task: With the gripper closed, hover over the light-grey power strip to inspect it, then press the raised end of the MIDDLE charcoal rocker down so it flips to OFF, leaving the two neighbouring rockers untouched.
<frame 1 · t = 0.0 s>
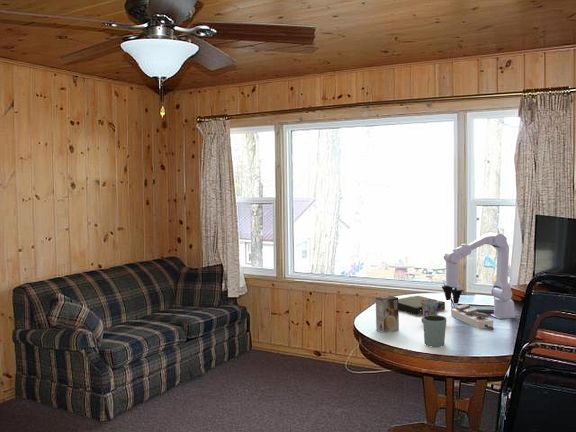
hand: (452, 301, 288), 10 cm above the table, tool pointing down, fingers open, 7 cm apart
grey tapered cup: (434, 344, 252), on the table
rocker 3: (480, 316, 280), point 4 cm above the table, hinge at -12.0°
rocker 1: (463, 308, 295), point 4 cm above the table, hinge at 12.0°
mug: (430, 321, 290), on the table
power strip: (471, 321, 288), on the table
network switch: (417, 310, 316), on the table
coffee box: (387, 330, 276), on the table
rocker 2: (471, 312, 287), point 4 cm above the table, hinge at 12.0°
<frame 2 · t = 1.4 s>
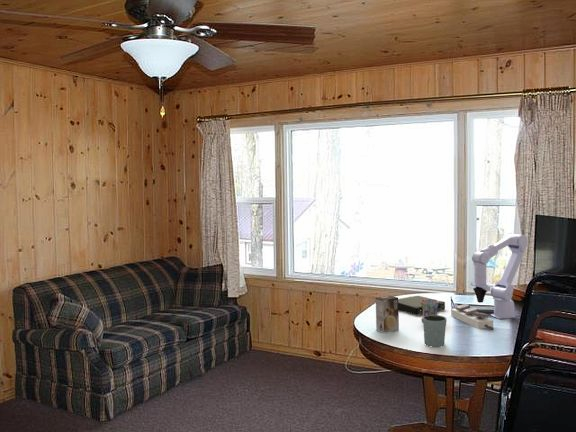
hand: (480, 302, 288), 9 cm above the table, tool pointing down, fingers closed
nothing on the table moved.
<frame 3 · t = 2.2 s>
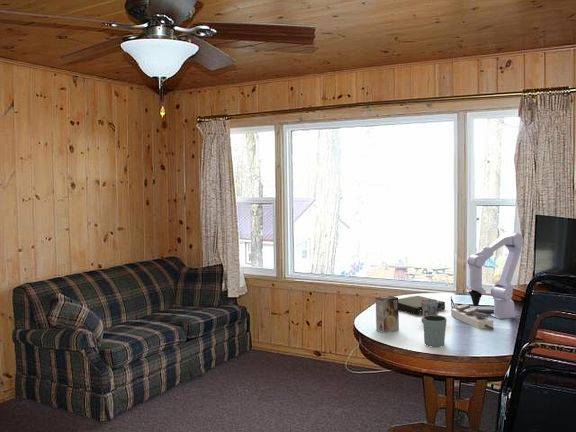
hand: (475, 305, 288), 8 cm above the table, tool pointing down, fingers closed
nothing on the table moved.
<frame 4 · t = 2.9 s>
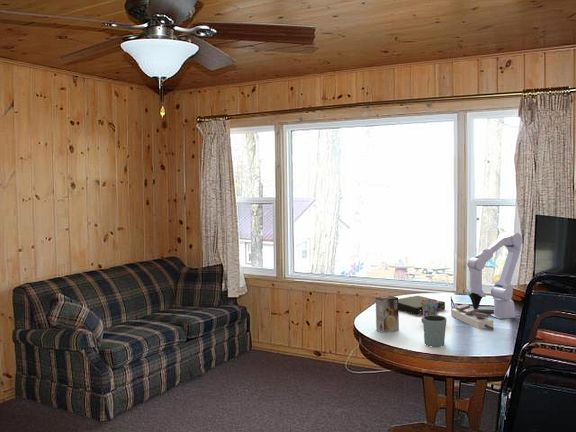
hand: (475, 308, 288), 6 cm above the table, tool pointing down, fingers closed, pressing on rocker 2
rocker 2: (471, 312, 287), point 4 cm above the table, hinge at 12.0°, touching gripper
everything else where it was.
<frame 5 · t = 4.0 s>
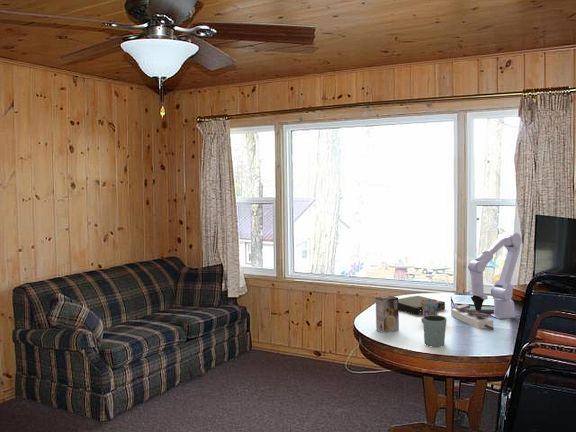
hand: (478, 310, 288), 5 cm above the table, tool pointing down, fingers closed, pressing on rocker 2
rocker 2: (471, 312, 287), point 4 cm above the table, hinge at -9.9°, touching gripper
everything else where it was.
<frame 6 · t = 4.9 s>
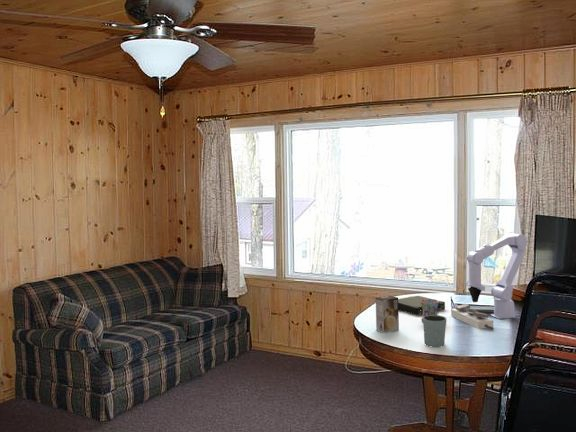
hand: (475, 301, 290), 9 cm above the table, tool pointing down, fingers closed
rocker 2: (471, 312, 287), point 4 cm above the table, hinge at -20.7°
everything else where it was.
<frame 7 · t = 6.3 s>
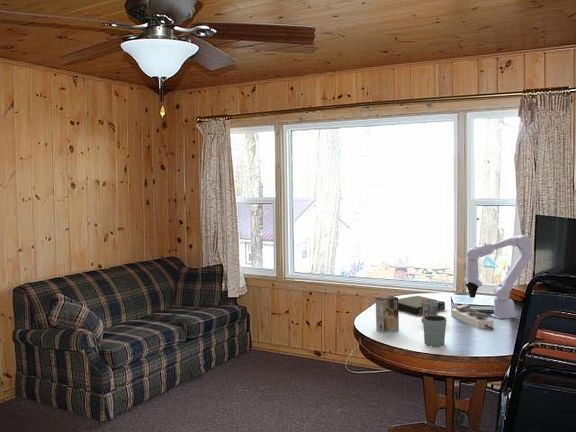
hand: (472, 297, 297), 10 cm above the table, tool pointing down, fingers closed
rocker 2: (471, 312, 287), point 4 cm above the table, hinge at -19.5°
everything else where it was.
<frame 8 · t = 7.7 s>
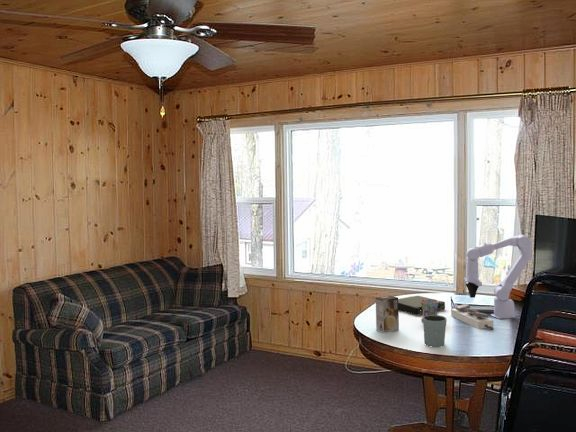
hand: (472, 297, 297), 10 cm above the table, tool pointing down, fingers closed
rocker 2: (471, 312, 287), point 4 cm above the table, hinge at -16.8°
everything else where it was.
at the end: rocker 2 at -17° (first picture: +12°); rocker 1 at +12° (first picture: +12°); rocker 3 at -12° (first picture: -12°) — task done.
